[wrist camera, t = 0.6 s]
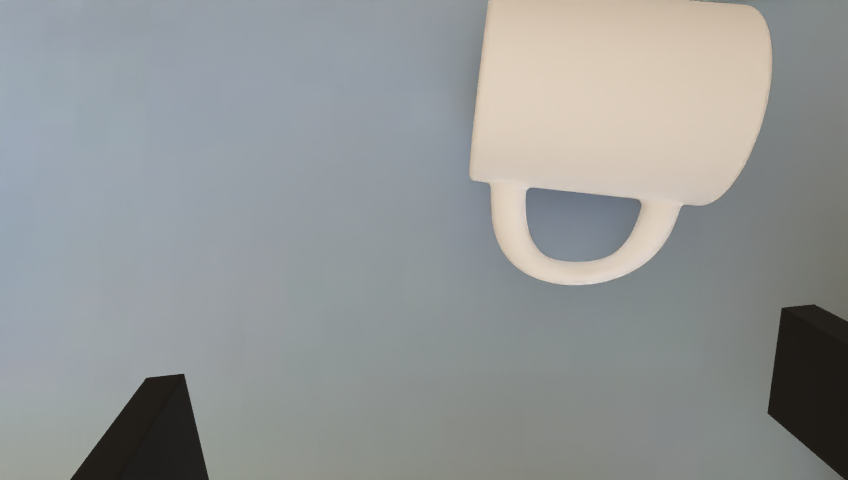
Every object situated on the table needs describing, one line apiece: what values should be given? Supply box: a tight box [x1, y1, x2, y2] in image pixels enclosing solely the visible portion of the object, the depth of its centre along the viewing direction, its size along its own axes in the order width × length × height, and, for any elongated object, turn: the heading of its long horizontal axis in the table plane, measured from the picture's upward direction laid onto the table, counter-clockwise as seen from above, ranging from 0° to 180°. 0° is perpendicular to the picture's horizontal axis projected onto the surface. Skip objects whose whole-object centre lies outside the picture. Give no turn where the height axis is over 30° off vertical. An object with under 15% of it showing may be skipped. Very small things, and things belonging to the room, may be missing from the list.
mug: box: [469, 0, 772, 285], centre depth 23 cm, size 12×10×8 cm
